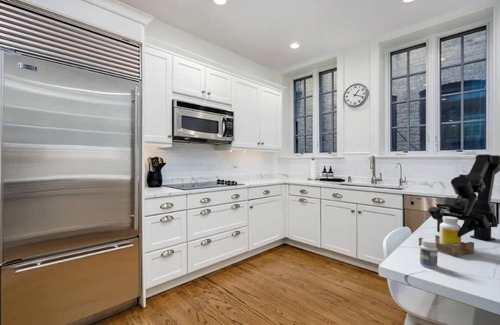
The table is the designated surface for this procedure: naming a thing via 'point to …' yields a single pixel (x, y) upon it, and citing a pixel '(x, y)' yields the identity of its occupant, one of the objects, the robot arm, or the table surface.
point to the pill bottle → (428, 253)
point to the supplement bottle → (449, 231)
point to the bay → (453, 248)
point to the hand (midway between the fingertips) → (447, 233)
